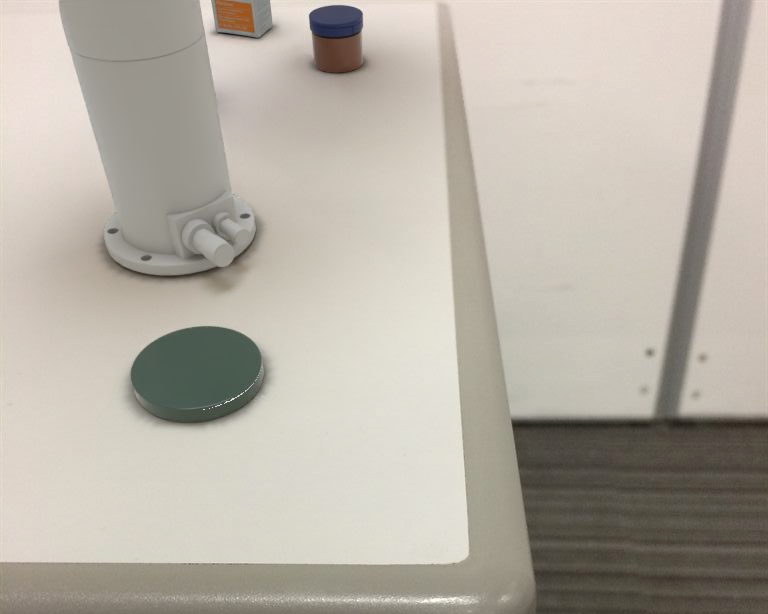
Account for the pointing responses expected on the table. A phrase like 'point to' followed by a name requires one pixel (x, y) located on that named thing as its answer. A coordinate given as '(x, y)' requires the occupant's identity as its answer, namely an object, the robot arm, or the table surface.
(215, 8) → the cosmetic box
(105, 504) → the table surface
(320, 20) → the jar lid
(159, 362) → the coaster
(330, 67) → the jar
